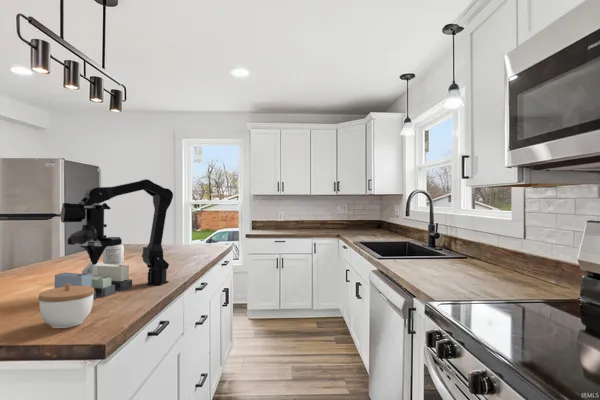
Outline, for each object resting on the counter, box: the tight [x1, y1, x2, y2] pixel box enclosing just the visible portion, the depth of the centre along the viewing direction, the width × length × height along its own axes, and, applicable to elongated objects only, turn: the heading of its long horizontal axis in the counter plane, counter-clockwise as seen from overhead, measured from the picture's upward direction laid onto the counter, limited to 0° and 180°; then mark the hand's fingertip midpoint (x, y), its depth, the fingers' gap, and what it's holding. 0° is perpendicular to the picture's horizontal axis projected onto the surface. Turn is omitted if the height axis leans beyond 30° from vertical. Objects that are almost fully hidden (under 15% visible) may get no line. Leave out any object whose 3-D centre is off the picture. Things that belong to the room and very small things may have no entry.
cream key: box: [97, 264, 130, 281], centre depth 135 cm, size 11×4×6 cm, turn 77°
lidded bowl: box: [38, 284, 94, 329], centre depth 95 cm, size 13×13×11 cm
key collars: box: [93, 278, 133, 301], centre depth 126 cm, size 13×24×3 cm, turn 167°
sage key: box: [91, 277, 111, 288], centre depth 126 cm, size 11×4×6 cm, turn 77°
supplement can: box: [102, 243, 125, 265], centre depth 153 cm, size 8×8×15 cm
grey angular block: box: [81, 261, 104, 277], centre depth 145 cm, size 8×9×10 cm
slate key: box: [54, 272, 92, 288], centre depth 117 cm, size 11×4×6 cm, turn 77°
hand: (94, 264), depth 126 cm, fingers closed
